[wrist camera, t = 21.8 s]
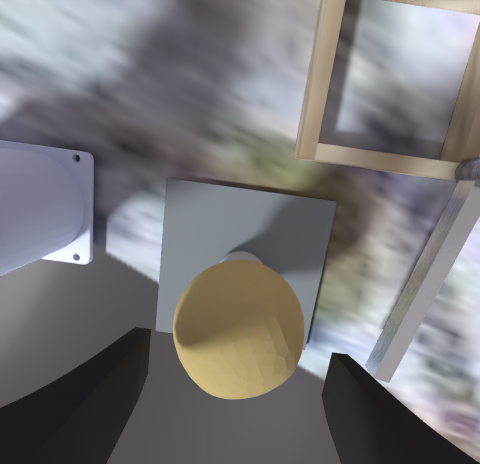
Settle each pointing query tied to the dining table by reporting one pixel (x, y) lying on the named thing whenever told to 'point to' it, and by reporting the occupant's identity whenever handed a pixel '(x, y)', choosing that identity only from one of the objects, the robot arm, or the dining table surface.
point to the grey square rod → (429, 271)
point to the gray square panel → (241, 239)
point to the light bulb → (239, 328)
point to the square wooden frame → (453, 153)
